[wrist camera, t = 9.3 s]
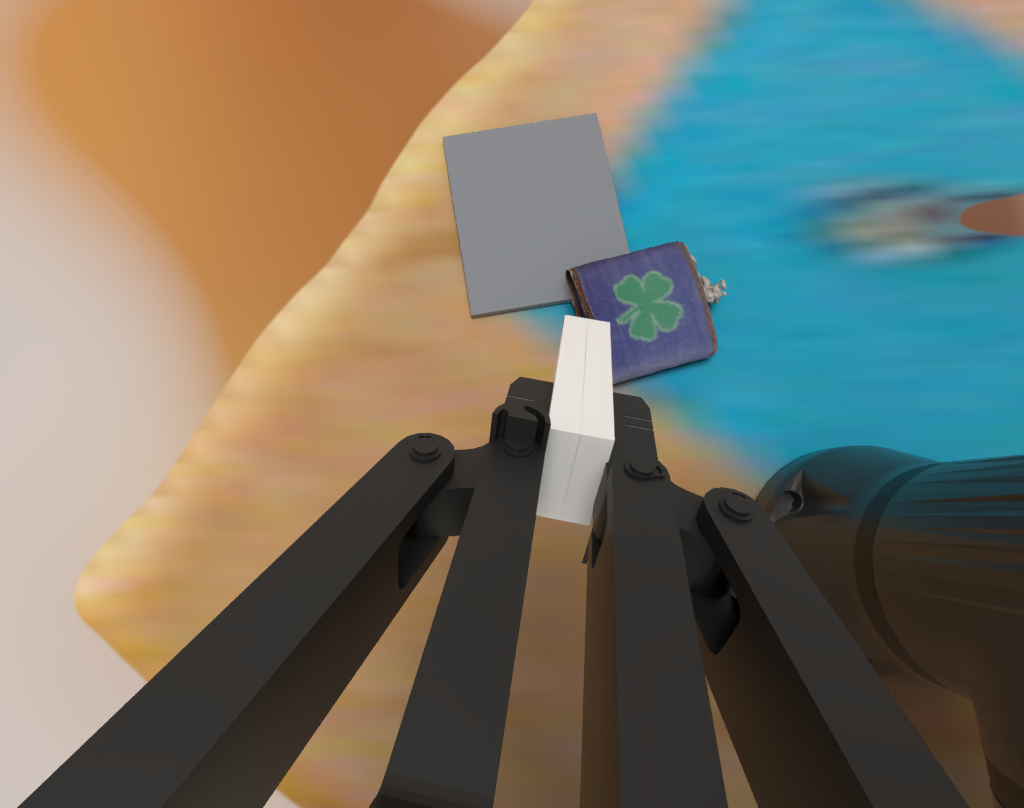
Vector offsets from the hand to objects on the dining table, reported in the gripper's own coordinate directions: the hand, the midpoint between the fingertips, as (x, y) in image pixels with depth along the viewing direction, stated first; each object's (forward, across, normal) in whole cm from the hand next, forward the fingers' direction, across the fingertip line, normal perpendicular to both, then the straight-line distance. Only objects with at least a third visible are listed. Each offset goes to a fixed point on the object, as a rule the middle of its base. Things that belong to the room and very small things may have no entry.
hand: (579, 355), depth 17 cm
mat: (+26, -4, -1) cm, 27 cm away
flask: (+18, +1, -7) cm, 19 cm away
